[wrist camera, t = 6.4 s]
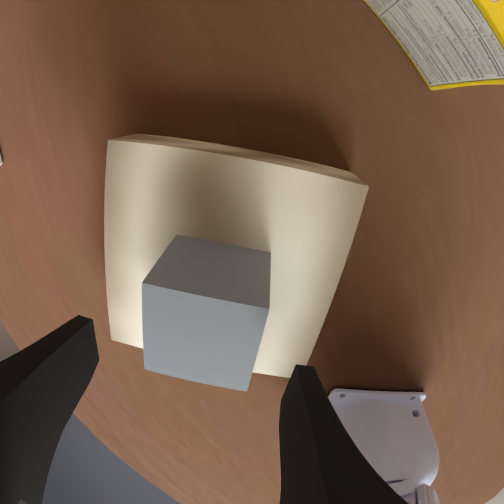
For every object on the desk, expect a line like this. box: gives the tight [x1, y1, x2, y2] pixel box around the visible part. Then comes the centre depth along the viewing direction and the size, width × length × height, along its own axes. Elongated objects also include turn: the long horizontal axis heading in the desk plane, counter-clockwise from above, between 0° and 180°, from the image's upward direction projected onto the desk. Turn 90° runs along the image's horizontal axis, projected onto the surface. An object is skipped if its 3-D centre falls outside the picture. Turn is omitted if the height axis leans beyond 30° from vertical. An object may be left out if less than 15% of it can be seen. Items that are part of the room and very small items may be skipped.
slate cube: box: [142, 234, 271, 391], centre depth 14 cm, size 4×4×4 cm
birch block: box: [104, 133, 369, 378], centre depth 17 cm, size 12×12×4 cm
